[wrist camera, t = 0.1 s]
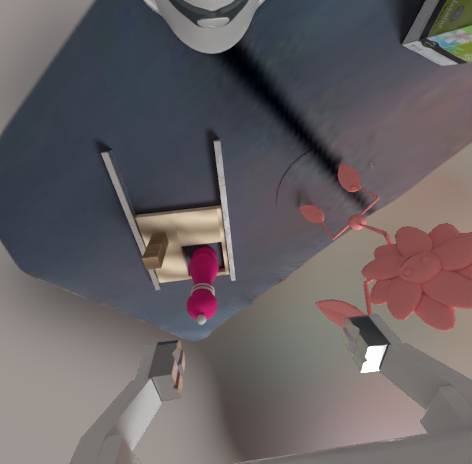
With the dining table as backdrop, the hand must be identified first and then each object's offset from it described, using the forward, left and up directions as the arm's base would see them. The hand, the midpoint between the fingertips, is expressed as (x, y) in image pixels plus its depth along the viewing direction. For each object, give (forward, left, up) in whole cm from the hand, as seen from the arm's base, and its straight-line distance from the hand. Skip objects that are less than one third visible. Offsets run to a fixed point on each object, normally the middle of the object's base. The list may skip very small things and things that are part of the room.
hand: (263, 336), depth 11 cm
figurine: (+8, +20, -39) cm, 44 cm away
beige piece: (+21, -12, -39) cm, 46 cm away
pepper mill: (+25, -8, -39) cm, 47 cm away
